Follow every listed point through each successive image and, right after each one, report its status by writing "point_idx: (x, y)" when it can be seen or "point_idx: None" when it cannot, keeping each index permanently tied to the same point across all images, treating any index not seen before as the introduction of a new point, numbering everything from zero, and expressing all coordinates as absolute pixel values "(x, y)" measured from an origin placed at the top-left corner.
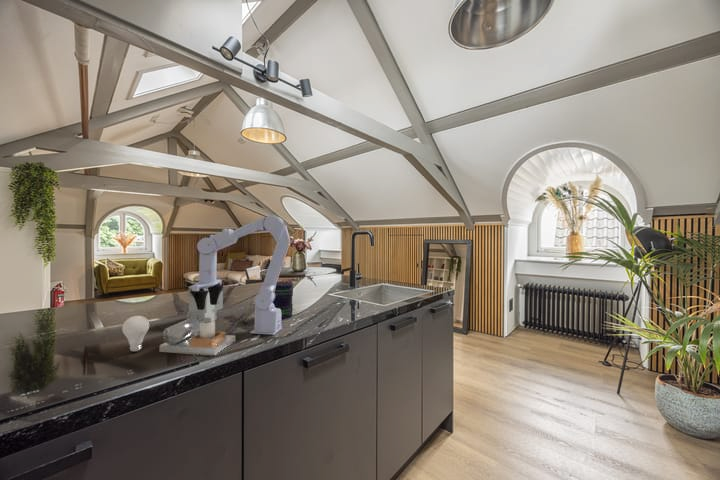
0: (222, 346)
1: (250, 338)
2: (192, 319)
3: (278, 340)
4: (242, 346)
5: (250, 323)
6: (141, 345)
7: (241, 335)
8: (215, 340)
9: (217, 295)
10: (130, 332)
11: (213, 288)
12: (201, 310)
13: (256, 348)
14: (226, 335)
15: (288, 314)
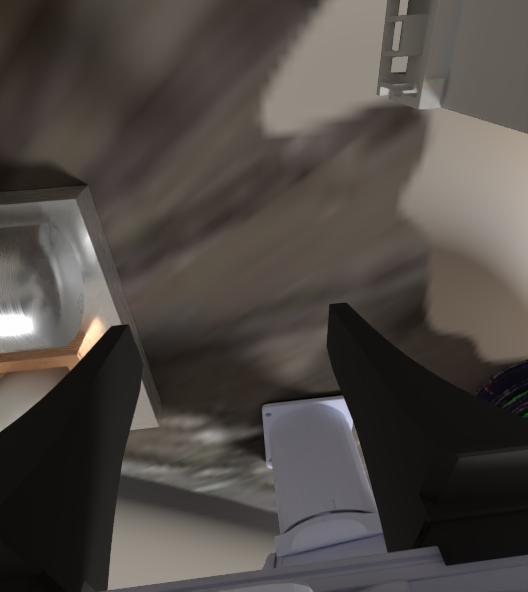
0: None
1: (212, 426)
2: (4, 343)
3: (223, 486)
4: (130, 442)
5: (413, 337)
6: None
7: (234, 388)
8: None
9: (359, 437)
10: None
11: (401, 498)
12: (471, 40)
13: (135, 474)
14: (143, 402)
15: None
